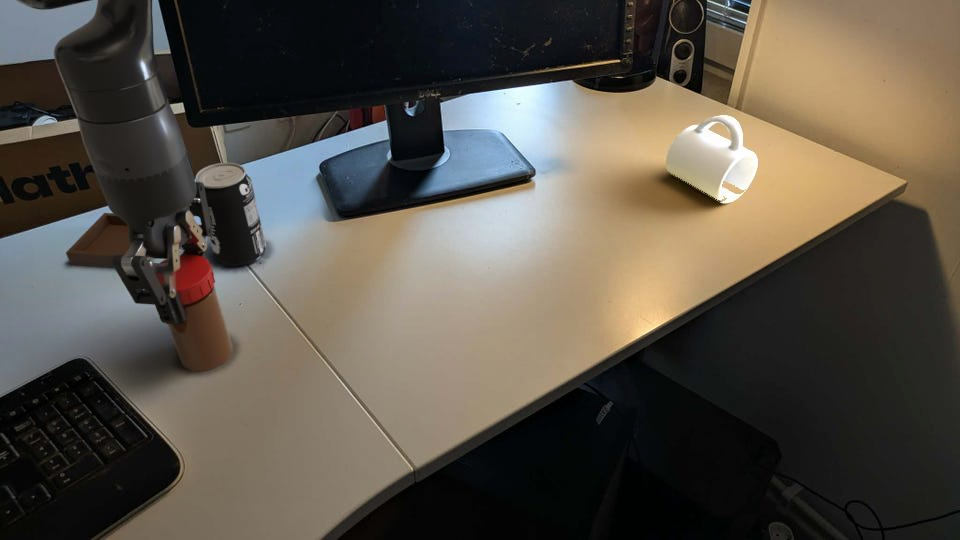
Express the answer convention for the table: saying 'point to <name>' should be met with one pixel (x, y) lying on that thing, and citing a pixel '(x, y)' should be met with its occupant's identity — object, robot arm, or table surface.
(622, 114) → the table surface
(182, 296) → the jar lid
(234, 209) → the beverage can
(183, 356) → the jar
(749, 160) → the mug
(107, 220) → the tray
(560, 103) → the table surface
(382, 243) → the table surface
